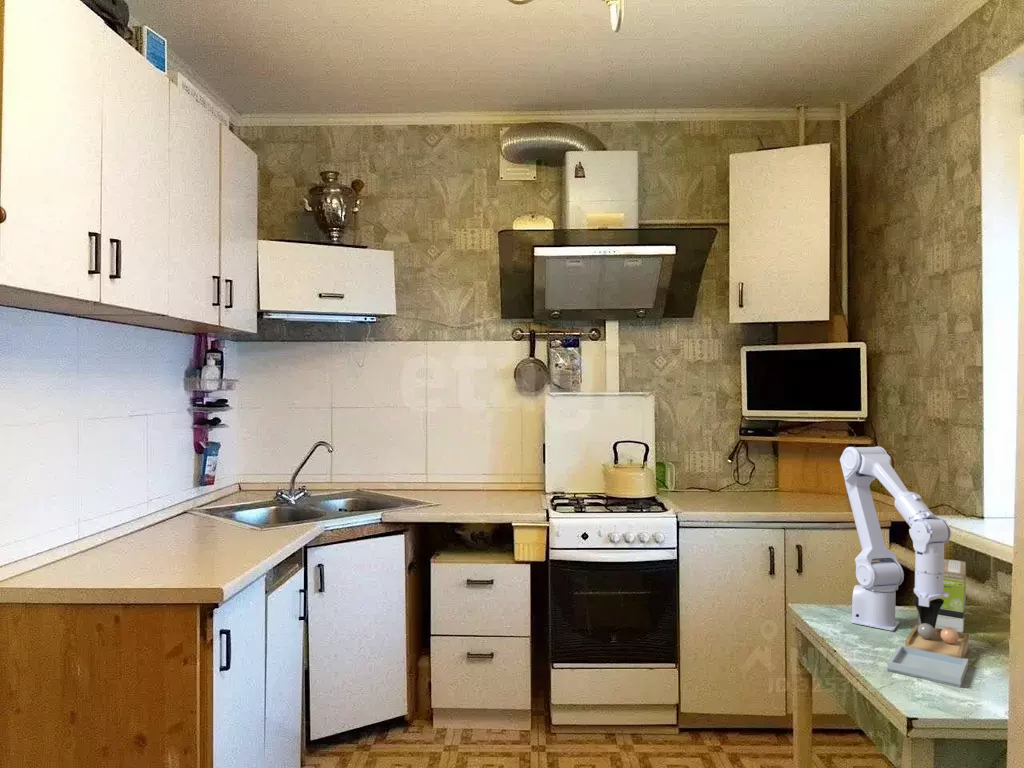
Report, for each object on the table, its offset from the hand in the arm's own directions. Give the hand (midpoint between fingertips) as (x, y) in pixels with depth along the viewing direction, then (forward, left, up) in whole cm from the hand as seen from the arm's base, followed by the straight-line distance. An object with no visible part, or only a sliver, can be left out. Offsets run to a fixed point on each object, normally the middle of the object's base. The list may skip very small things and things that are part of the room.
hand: (928, 630), depth 167 cm
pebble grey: (0, -3, +1) cm, 3 cm away
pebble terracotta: (+4, -3, +1) cm, 5 cm away
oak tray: (+2, -3, -3) cm, 5 cm away
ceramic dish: (+2, -16, -3) cm, 16 cm away
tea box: (0, +22, -4) cm, 22 cm away
